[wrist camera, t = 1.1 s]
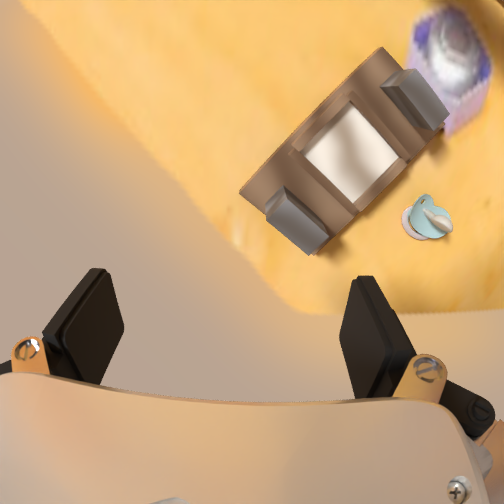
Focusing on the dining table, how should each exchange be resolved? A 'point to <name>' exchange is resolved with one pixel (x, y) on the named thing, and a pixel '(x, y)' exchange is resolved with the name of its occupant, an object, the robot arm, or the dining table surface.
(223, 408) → the robot arm
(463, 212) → the dining table surface
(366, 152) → the brown tray
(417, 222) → the pacifier
